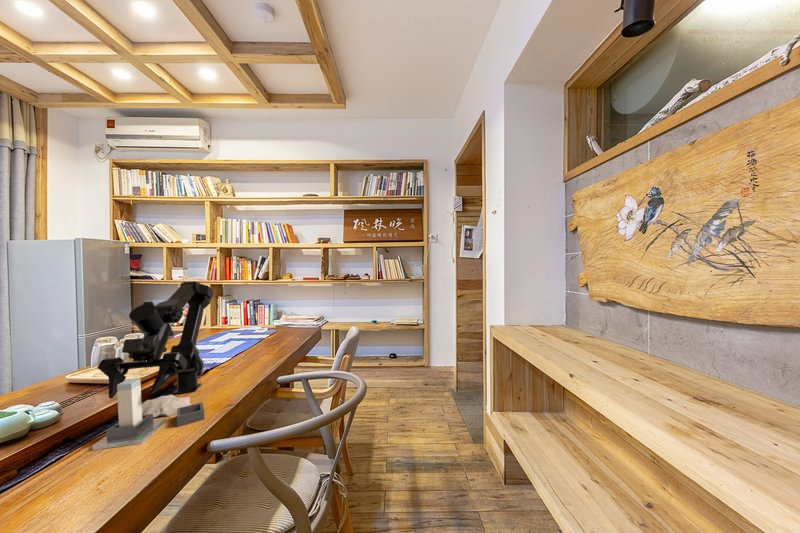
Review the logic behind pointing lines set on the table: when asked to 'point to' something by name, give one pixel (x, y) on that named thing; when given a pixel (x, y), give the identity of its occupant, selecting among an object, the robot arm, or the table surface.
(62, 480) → the table surface
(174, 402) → the decorative stone
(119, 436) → the port
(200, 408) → the grey hollow square frame
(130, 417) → the plug
